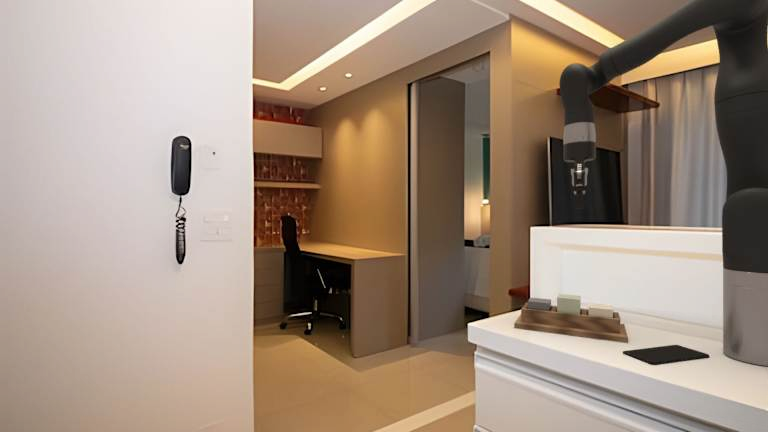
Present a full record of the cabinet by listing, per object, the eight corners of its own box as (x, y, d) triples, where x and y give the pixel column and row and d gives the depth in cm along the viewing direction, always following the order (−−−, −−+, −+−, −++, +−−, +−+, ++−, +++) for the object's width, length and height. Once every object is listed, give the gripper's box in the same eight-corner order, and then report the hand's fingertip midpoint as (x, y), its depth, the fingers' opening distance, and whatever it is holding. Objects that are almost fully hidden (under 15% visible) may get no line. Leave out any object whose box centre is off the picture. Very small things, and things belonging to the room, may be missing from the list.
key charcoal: (551, 317, 100) (551, 299, 100) (549, 322, 95) (549, 303, 95) (530, 315, 102) (530, 297, 102) (527, 320, 98) (527, 301, 98)
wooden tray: (624, 328, 95) (624, 311, 95) (628, 343, 84) (628, 322, 84) (522, 316, 106) (522, 300, 106) (514, 327, 96) (514, 310, 96)
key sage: (580, 315, 96) (580, 295, 96) (579, 319, 92) (579, 299, 92) (558, 312, 99) (558, 293, 99) (557, 317, 94) (557, 297, 94)
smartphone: (620, 351, 78) (676, 344, 82) (620, 355, 78) (676, 348, 82) (652, 362, 72) (711, 354, 76) (652, 367, 72) (711, 359, 76)
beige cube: (612, 325, 93) (612, 305, 93) (612, 330, 89) (612, 309, 89) (588, 322, 95) (588, 303, 95) (588, 327, 91) (588, 307, 91)
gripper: (596, 136, 93) (596, 207, 93) (595, 145, 105) (595, 208, 105) (562, 139, 97) (562, 208, 97) (564, 147, 108) (565, 209, 108)
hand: (579, 208), depth 101 cm, fingers closed
